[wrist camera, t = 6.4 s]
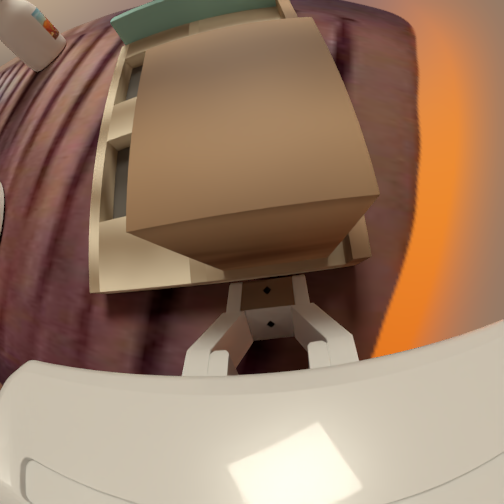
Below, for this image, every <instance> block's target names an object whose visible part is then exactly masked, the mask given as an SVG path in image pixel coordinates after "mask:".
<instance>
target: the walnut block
mask: <svg viewBox="0 0 504 504" xmlns="http://www.w3.org/2000/svg"><path fill="white" fill-rule="evenodd" d="M379 195H380V193H379V189H378V185H377V181H376V177H375V173H374V170H373V166H372V163H371V159H370V156H369V153H368V150H367V146H366V143H365V140H364V137H363V134H362V131H361V128H360V125H359V122H358V120H357V117H356V114H355V111H354V109H353V106H352V103H351V101H350V98H349V96H348V93H347V91H346V88H345V86H344V83H343V81H342V78H341V76H340V74H339V72H338V69H337V67H336V65H335V63H334V60H333V58H332V56H331V54H330V52H329V50H328V48H327V46H326V44H325V42H324V40H323V38H322V36H321V34H320V32H319V30H318V28H317V26H316V24H315V22H314V20H313V19H312V17H300V18H286V19H276V20H267V21H259V22H252V23H246V24H240V25H235V26H229V27H224V28H220V29H215V30H211V31H207V32H203V33H199V34H195V35H191V36H188V37H184V38H181V39H177V40H174V41H171V42H168V43H165V44H162V45H159V46H156V47H153V48H151V49H148V50H146V53H145V58H144V62H143V67H142V72H141V77H140V82H139V88H138V93H137V99H136V106H135V112H134V119H133V127H132V135H131V144H130V155H129V166H128V181H127V203H126V232H127V233H129V234H132V235H134V236H137V237H139V238H141V239H144V240H146V241H149V242H151V243H154V244H156V245H159V246H161V247H164V248H166V249H169V250H171V251H174V252H176V253H179V254H181V255H184V256H186V257H189V258H191V259H194V260H196V261H199V262H202V263H204V264H207V265H209V266H212V267H215V268H217V269H220V270H222V271H226V270H234V269H242V268H250V267H258V266H266V265H274V264H281V263H289V262H297V261H304V260H312V259H319V258H326V257H329V255H330V254H331V253H332V252H333V251H334V250H335V248H336V247H337V246H338V245H339V244H340V243H341V241H342V240H343V239H344V238H345V237H346V235H347V234H348V233H349V232H350V231H351V229H352V228H353V227H354V226H355V225H356V223H357V222H358V221H359V220H360V219H361V217H362V216H363V215H364V214H365V212H366V211H367V210H368V209H369V207H370V206H371V205H372V204H373V202H374V201H375V200H376V199H377V197H378V196H379Z"/></svg>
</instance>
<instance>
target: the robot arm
mask: <svg viewBox="0 0 504 504" xmlns="http://www.w3.org/2000/svg"><path fill="white" fill-rule="evenodd" d="M3 212H4V192H3V187H2V184H1V182H0V234H1V228H2V222H3ZM294 336H295V338H296V339H297V340H298V342H299V343H300V344H301V345H302V346H303V348H304V349H305V350H306V351H307V352H308V369H304V370H295V371H286V372H275V373H263V374H249V375H238V373H237V370H236V367H237V366H238V364H239V363H240V361H241V360H242V358H243V357H244V355H245V354H246V352H247V351H248V349H249V348H250V346H251V344H252V343H253V341H255V340H264V339H272V338H283V337H294ZM0 504H504V319H502V320H500V321H497V322H495V323H492V324H490V325H487V326H484V327H482V328H479V329H476V330H473V331H471V332H468V333H465V334H462V335H459V336H456V337H453V338H450V339H446V340H443V341H440V342H436V343H433V344H430V345H426V346H422V347H418V348H414V349H411V350H407V351H403V352H399V353H395V354H390V355H386V356H381V357H376V358H371V359H366V360H361V361H359V359H358V355H357V351H356V347H355V343H354V339H353V335H352V334H350V333H349V332H348V331H347V330H346V329H344V328H343V327H342V326H341V325H340V324H338V323H337V322H336V321H335V320H334V319H332V318H331V317H330V316H329V315H328V314H326V313H325V312H324V311H323V310H322V309H320V308H319V307H318V306H317V305H316V304H314V303H310V301H309V295H308V289H307V284H306V279H305V275H304V274H303V275H296V276H292V277H284V278H276V279H268V280H259V281H248V282H240V283H231V284H230V286H229V293H228V301H227V309H226V313H222V314H221V315H220V316H219V317H218V318H217V320H216V321H215V322H214V323H213V324H212V325H211V326H210V327H209V328H208V329H207V330H206V331H205V332H204V333H203V334H202V335H201V337H200V338H199V339H198V340H197V341H196V342H195V343H194V344H193V345H192V346H191V347H190V348H189V349H188V350H187V353H186V358H185V363H184V368H183V373H182V376H161V375H141V374H127V373H116V372H106V371H97V370H89V369H81V368H74V367H68V366H62V365H56V364H50V363H45V362H41V361H36V360H30V361H28V362H27V363H25V364H24V365H22V366H21V367H20V368H19V369H17V370H16V371H15V372H14V373H13V374H12V375H11V376H10V377H9V378H8V379H7V380H6V382H5V384H4V385H3V387H2V389H1V391H0Z"/></svg>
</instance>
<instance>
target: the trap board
mask: <svg viewBox="0 0 504 504" xmlns="http://www.w3.org/2000/svg"><path fill="white" fill-rule="evenodd" d="M275 2H276V7H267V8H259V9H252V10H246V11H240V12H234V13H229V14H224V15H219V16H215V17H210V18H206V19H202V20H198V21H194V22H191V23H187V24H184V25H180V26H177V27H174V28H171V29H168V30H165V31H162V32H159V33H156V34H153V35H150V36H148V37H145V38H142V39H140V40H137V41H135V42H132V43H130V44H128V45H125V46H123V47H122V49H121V52H120V55H119V58H118V61H117V64H116V67H115V71H114V74H113V78H112V81H111V85H110V89H109V93H108V97H107V101H106V105H105V110H104V114H103V119H102V124H101V129H100V135H99V140H98V146H97V153H96V160H95V167H94V175H93V184H92V195H91V207H90V225H89V285H90V293H99V294H111V293H123V292H135V291H146V290H156V289H167V288H177V287H187V286H196V285H206V284H215V283H224V282H233V281H241V280H250V279H258V278H266V277H274V276H282V275H290V274H297V273H305V272H312V271H320V270H327V269H334V268H341V267H348V266H355V265H357V264H359V263H360V262H362V261H364V260H366V259H368V258H370V257H372V256H371V250H370V244H369V239H368V233H367V228H366V223H365V218H364V215H363V216H362V217H361V219H360V220H359V221H358V222H357V223H356V225H355V226H354V227H353V228H352V229H351V231H350V232H349V233H348V234H347V235H346V237H345V238H344V239H343V240H342V241H341V243H340V244H339V245H338V246H337V247H336V248H335V250H334V251H333V252H332V253H331V254H330V255H329V257H326V258H319V259H312V260H304V261H297V262H289V263H281V264H274V265H266V266H258V267H250V268H242V269H234V270H226V271H222V270H220V269H217V268H215V267H212V266H209V265H207V264H204V263H202V262H199V261H196V260H194V259H191V258H189V257H186V256H184V255H181V254H179V253H176V252H174V251H171V250H169V249H166V248H164V247H161V246H159V245H156V244H154V243H151V242H149V241H146V240H144V239H141V238H139V237H137V236H134V235H132V234H129V233H127V232H126V203H127V181H128V166H129V155H130V144H131V135H132V127H133V119H134V112H135V106H136V99H137V93H138V88H139V82H140V77H141V72H142V67H143V62H144V58H145V53H146V50H148V49H151V48H153V47H156V46H159V45H162V44H165V43H168V42H171V41H174V40H177V39H181V38H184V37H188V36H191V35H195V34H199V33H203V32H207V31H211V30H215V29H220V28H224V27H229V26H235V25H240V24H246V23H252V22H259V21H267V20H276V19H286V18H298V17H297V15H296V13H295V11H294V9H293V7H292V5H291V3H290V1H289V0H275Z"/></svg>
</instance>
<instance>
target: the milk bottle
mask: <svg viewBox="0 0 504 504" xmlns="http://www.w3.org/2000/svg"><path fill="white" fill-rule="evenodd" d="M0 40H1V41H2V42H3V43H4V44H5V45H6V46H7V47H8V48H9V49H10V50H11V51H12V52H13V53H14V54H15V55H16V56H18V57H19V58H20V59H21V60H22V61H23V62H24V63H25V64H26V65H27V66H29V67H30V68H31V69H32V70H33V71H35V72H39V71H41V70H42V69H44V68H45V67H47V66H48V65H49V64H50V63H51V62H52V61H53V60H54V59H55V58H56V57H57V56H58V55H59V54H60V52H61V51H62V50H63V48H64V47H65V45H66V40H65V39H64V37H63V36H62V35H61V34H60V33H59V32H58V30H57V29H56V28H55V27H54V26H53V25H52V24H51V23H50V21H49V20H48V19H47V18H46V17H45V16H44V15H43V14H42V13H41V12H40V11H39V10H38V9H37V8H36V7H35V6H34V5H33V4H32V3H30V2H28V1H25V0H0Z"/></svg>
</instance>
